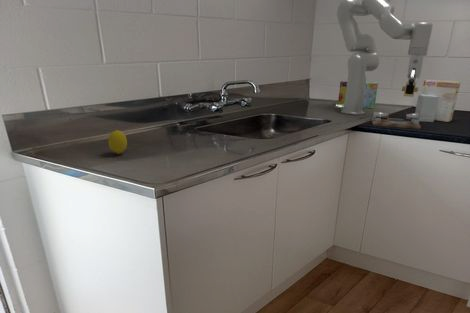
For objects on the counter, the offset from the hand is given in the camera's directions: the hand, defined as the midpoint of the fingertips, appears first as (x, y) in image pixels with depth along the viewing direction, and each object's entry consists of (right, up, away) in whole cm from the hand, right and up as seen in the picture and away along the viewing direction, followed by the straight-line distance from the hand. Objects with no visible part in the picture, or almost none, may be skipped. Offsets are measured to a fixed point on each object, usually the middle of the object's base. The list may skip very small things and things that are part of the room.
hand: (409, 92), depth 157 cm
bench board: (-5, -14, +4) cm, 16 cm away
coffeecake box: (+22, -10, +19) cm, 31 cm away
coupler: (0, -1, +1) cm, 1 cm away
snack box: (-7, +1, +50) cm, 51 cm away
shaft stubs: (-5, -14, +4) cm, 16 cm away
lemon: (-118, -29, -48) cm, 130 cm away
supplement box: (+15, -11, +16) cm, 24 cm away
